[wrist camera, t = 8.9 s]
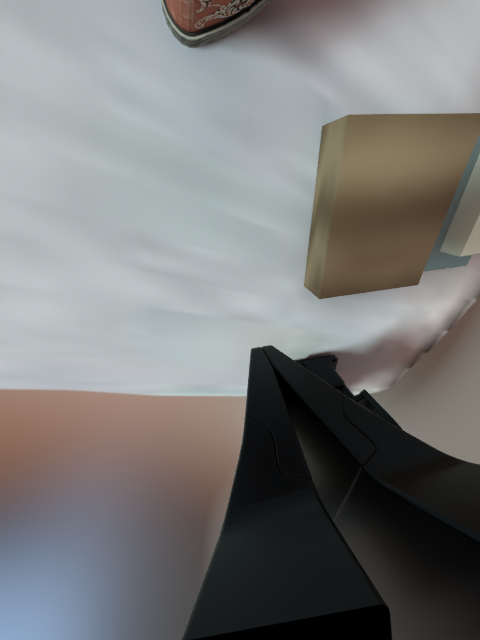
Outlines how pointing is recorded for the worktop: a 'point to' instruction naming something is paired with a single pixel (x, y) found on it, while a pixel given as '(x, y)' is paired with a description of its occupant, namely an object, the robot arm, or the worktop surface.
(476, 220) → the rectangular block
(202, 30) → the lighter
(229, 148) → the worktop surface
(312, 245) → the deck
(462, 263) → the mat
